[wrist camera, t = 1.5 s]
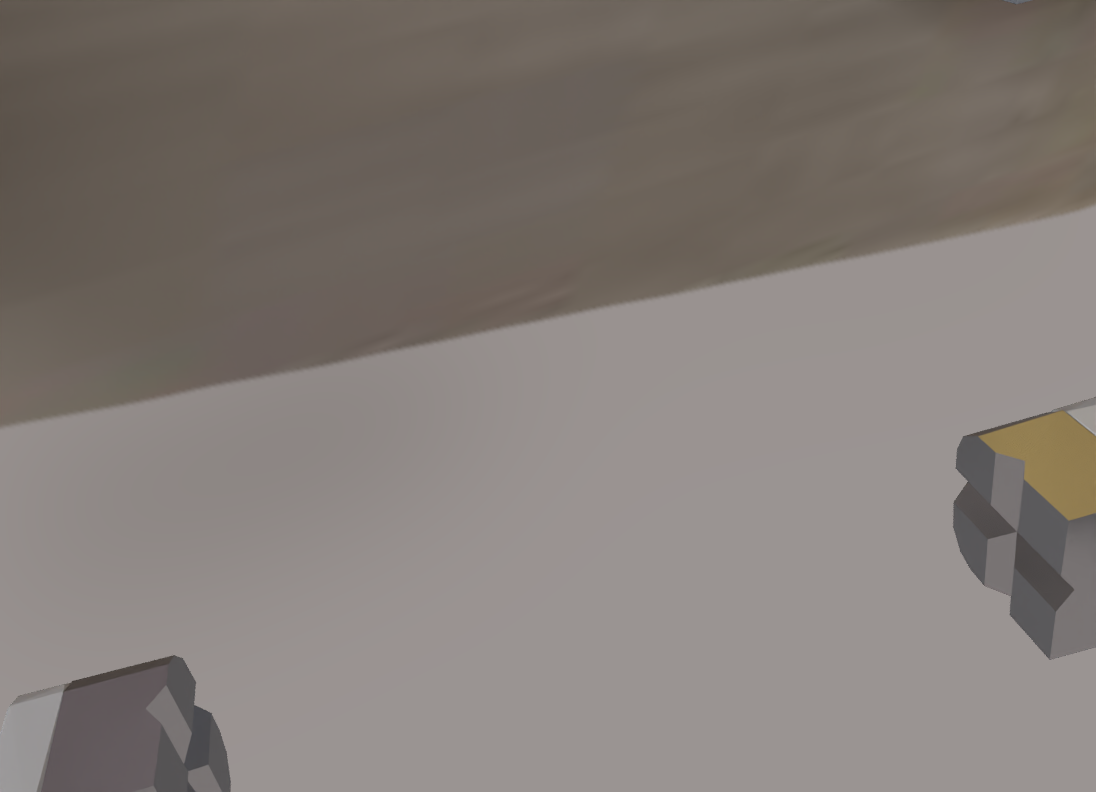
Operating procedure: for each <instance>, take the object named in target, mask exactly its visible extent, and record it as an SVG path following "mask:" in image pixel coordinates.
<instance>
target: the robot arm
mask: <svg viewBox="0 0 1096 792" xmlns="http://www.w3.org/2000/svg"><path fill="white" fill-rule="evenodd" d="M956 469H957V470H958V471H959V472H960V473H961V475H963V477H964V478H966V480H967V481H968V482H967V484H966V485H965V487H964V488H963V490H962V491H961V492H960V494H959V495H958V497H957V498H956V500H955V501H954V516H953V517H954V519H953V520H954V521H953V528H954V531H955V534H956V538H957V541H958V545H959V548H960V552H961V553H962V555H963V557H964V559H965V560H966V562H967V564H968V566H969V568H970V569H971V571H972V572H973V573H974V574H975V575H976V576H977V578H978V579H979V580H980V581H981V582H982V584H983V585H984V586H986V587H989V588H991V589H994V590H996V591H999V592H1002V593H1004V594H1007V595H1009V596H1011V604H1010V615H1011V617H1012V618H1013V619H1014V620H1015V621H1016V622H1017V624H1018V625H1019V626H1020V627H1021V628H1022V629H1023V630H1024V631H1025V633H1027V635H1028V636H1029V637H1030V638H1031V639H1032V640H1033V642H1034V643H1035V644H1036V645H1037V646H1038V647H1039V648H1040V649H1041V650H1042V652H1043V653H1044V654H1045V655H1046V656H1047V657H1048V658H1049V660H1051V659H1055V658H1059V657H1062V656H1066V655H1069V654H1073V653H1077V652H1080V651H1084V650H1088V649H1091V648H1095V647H1096V397H1094V398H1091V399H1088V400H1084V401H1081V402H1078V403H1074V404H1071V405H1068V406H1064V407H1061V408H1058V409H1054V410H1052V411H1051V412H1048V413H1044V414H1040V415H1037V416H1033V417H1030V418H1026V419H1023V420H1019V421H1016V422H1012V423H1008V424H1005V425H1002V426H998V427H995V428H991V429H987V430H984V431H980V432H977V433H973V434H970V435H967V436H963V438H962V440H961V442H960V444H959V447H958V449H957V459H956ZM195 685H196V682H195V680H194V678H193V676H192V674H191V673H190V671H189V669H188V667H187V665H186V663H185V661H184V660H183V658H180V657H177V656H175V655H174V656H170V657H166V658H162V659H158V660H154V661H150V662H146V663H142V664H138V665H134V666H130V667H126V668H122V669H118V670H114V671H110V672H107V673H103V674H99V675H95V676H91V677H87V678H83V679H79V680H75V681H72V682H71V683H69V684H63V685H59V686H55V687H52V688H48V689H43V690H40V691H36V692H32V693H28V694H24V695H20V696H18V697H17V698H16V700H15V701H14V702H13V703H12V704H11V705H10V706H9V708H8V710H7V713H6V716H5V720H4V723H3V727H2V730H1V734H0V792H230V786H231V785H230V783H231V781H230V775H229V767H228V760H227V753H226V749H225V746H224V743H223V740H222V737H221V733H220V730H219V728H218V726H217V724H216V722H215V720H214V718H213V716H212V714H211V713H210V712H208V711H206V710H203V709H202V708H199V707H197V706H195V705H194V699H195Z"/></svg>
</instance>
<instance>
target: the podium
mask: <svg viewBox="0 0 1096 792" xmlns="http://www.w3.org/2000/svg"><path fill="white" fill-rule="evenodd" d="M1003 1H1007V2H1011V3H1014V4H1020V3H1023V2H1027V1H1031V0H1003Z"/></svg>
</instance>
